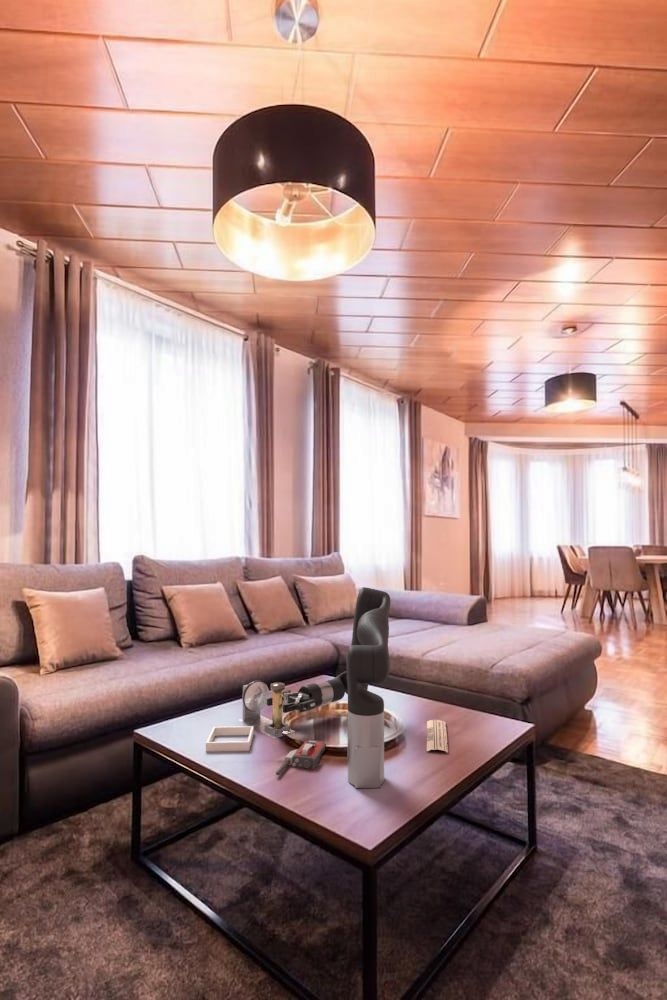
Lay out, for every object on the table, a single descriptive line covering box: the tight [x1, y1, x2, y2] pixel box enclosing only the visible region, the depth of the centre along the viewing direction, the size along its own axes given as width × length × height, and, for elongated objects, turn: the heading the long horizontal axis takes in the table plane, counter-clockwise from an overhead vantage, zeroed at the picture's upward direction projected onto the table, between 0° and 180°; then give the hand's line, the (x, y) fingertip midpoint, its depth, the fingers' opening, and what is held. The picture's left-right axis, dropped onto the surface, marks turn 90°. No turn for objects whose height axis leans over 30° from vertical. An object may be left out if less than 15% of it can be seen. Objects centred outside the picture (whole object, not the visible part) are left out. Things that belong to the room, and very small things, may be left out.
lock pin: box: [269, 682, 286, 729], centre depth 164 cm, size 4×4×14 cm
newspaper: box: [426, 719, 449, 754], centre depth 162 cm, size 24×7×2 cm, turn 170°
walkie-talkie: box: [275, 739, 327, 776], centre depth 144 cm, size 9×4×20 cm
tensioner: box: [238, 679, 297, 739], centre depth 168 cm, size 20×10×14 cm, turn 41°
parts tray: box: [205, 725, 255, 752], centre depth 155 cm, size 12×12×4 cm
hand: (275, 705), depth 163 cm, fingers open, 8 cm apart
